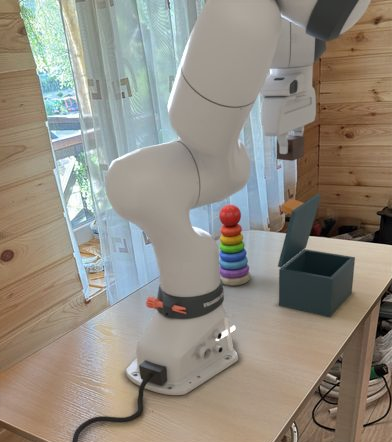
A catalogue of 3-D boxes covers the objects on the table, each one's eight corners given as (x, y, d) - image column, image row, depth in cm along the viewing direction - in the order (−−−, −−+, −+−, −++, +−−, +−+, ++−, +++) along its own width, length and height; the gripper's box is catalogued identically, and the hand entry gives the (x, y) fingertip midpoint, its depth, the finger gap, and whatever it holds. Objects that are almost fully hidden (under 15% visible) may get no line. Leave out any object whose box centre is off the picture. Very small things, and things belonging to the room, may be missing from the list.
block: (292, 160, 114) (292, 139, 112) (276, 159, 117) (276, 138, 115) (303, 156, 117) (304, 136, 115) (287, 155, 120) (287, 135, 117)
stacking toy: (250, 272, 131) (248, 199, 121) (250, 286, 124) (248, 209, 114) (219, 273, 132) (215, 201, 122) (217, 287, 125) (213, 211, 115)
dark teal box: (351, 293, 117) (355, 257, 112) (329, 317, 109) (332, 279, 104) (303, 283, 123) (304, 248, 119) (278, 305, 115) (279, 269, 110)
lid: (321, 194, 110) (301, 187, 112) (295, 212, 101) (274, 203, 103) (306, 247, 118) (287, 240, 120) (280, 267, 110) (261, 259, 111)
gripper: (297, 77, 118) (296, 141, 125) (255, 88, 104) (256, 159, 111) (324, 76, 114) (321, 141, 122) (283, 87, 100) (283, 161, 108)
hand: (290, 150), depth 116 cm, fingers closed on block, 5 cm apart
